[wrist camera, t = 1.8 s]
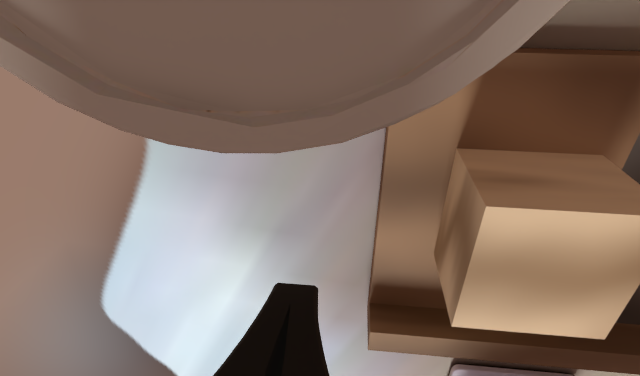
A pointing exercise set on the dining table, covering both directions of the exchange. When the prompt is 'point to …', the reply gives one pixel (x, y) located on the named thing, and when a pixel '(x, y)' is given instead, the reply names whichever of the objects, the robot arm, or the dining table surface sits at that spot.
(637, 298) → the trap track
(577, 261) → the maple block
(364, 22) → the disposable coffee cup
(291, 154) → the dining table surface
